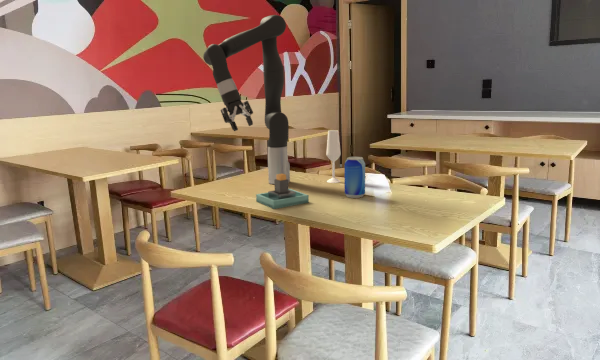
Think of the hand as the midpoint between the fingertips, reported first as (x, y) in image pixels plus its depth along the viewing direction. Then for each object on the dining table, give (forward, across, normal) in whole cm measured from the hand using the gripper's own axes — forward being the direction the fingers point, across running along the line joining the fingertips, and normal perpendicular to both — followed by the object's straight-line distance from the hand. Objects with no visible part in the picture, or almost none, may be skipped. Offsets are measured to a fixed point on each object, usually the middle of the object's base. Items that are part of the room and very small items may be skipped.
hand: (243, 128), depth 206 cm
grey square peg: (+32, -6, -13) cm, 36 cm away
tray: (+34, -6, -13) cm, 37 cm away
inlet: (+33, -6, -13) cm, 36 cm away
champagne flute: (+38, +35, -3) cm, 52 cm away
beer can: (+44, +18, -27) cm, 55 cm away
